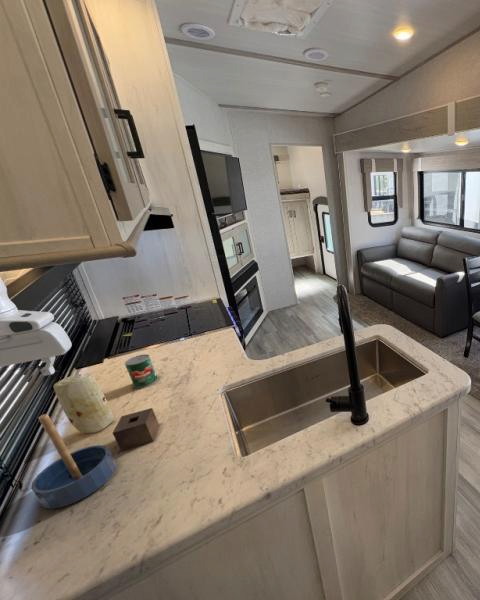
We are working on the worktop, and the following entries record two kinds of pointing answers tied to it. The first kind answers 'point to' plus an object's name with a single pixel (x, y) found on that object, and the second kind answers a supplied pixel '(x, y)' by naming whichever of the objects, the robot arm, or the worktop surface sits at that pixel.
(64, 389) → the food model
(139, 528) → the worktop surface
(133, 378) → the canned tomato
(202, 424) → the worktop surface
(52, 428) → the stick
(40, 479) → the bowl
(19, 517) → the worktop surface
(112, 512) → the worktop surface
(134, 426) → the holder
